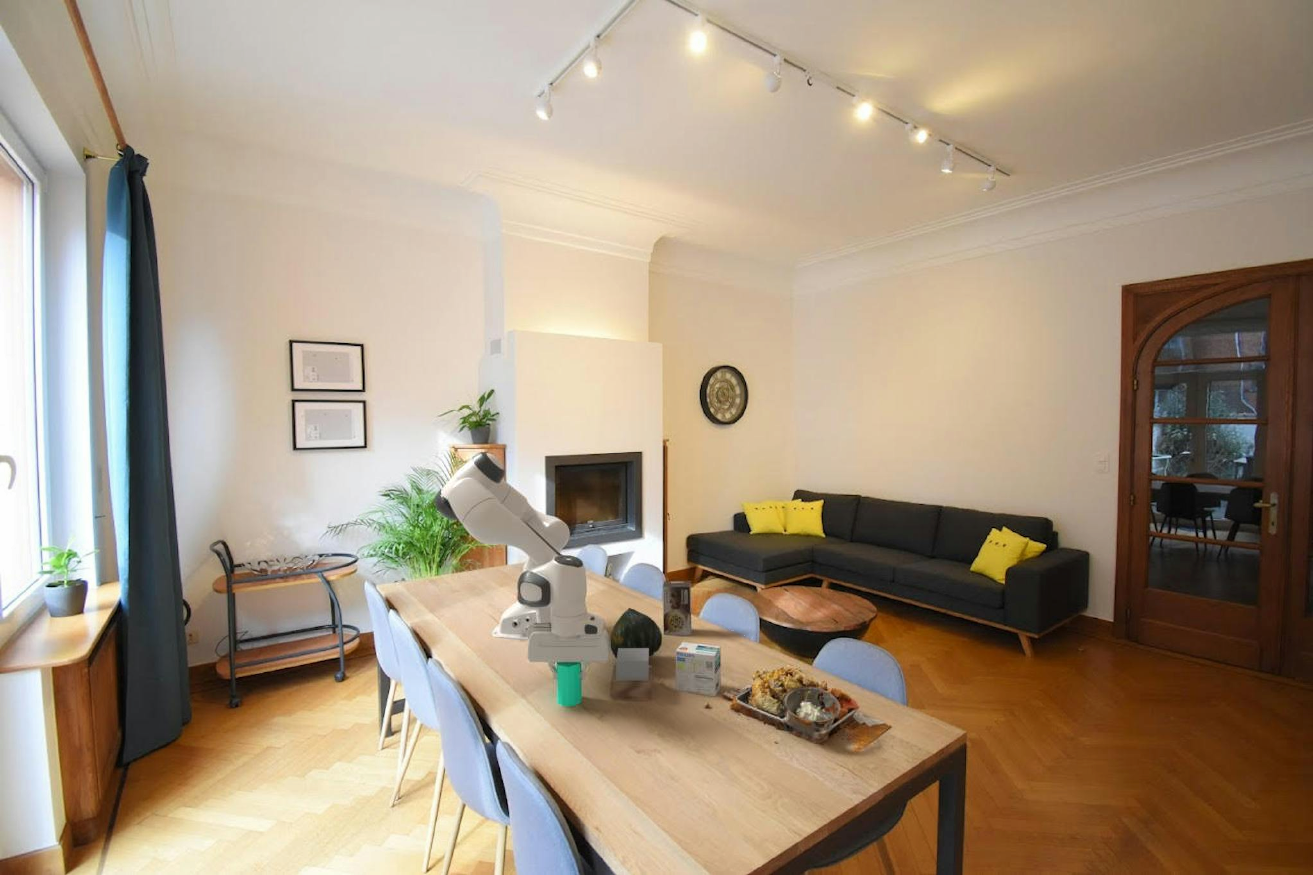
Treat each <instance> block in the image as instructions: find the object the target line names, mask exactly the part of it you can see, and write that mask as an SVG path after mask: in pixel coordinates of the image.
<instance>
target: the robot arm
mask: <svg viewBox="0 0 1313 875" xmlns="http://www.w3.org/2000/svg"><path fill="white" fill-rule="evenodd" d="M505 470H506V469H505V467H504V466H503V463H502V462H501V460H500V459H499V458H498V457H496V456H495V454H491V453H489V452H488V451H480V452H478V453H476V454H475V455H473V456H472V457H471V459H470V460H468V461H467V462H466V463H465V464H464V465H462V466H461V467H460V468H459V469H458V470H456V471H455V473H454V475H453V476H451V478H450V479H449V480H448V481H447V482H446V484H444V486H443V487H442V488H440V489H439V490H438V491H437V493H436V495H435V497H434V506H435V509H436V510H437V511H438V513H439V514H441V515H442V516H443V517H444V518H445V519H448V520H449V521H453V522H454V521H455V522H456V521H457V522H458V521H459V522H460V523H461V524H462V526H463V528H464V529H465V530H466V532H468V534H469V535H470V536H471V537H472V538H473V539H475V540H476V541H477V542H479V543H482V544H485V545H498V546H499V545H501V546H510V547H513V548H517V549H519V550H521V551H522V552H523V553H524V554H526V556H528V558H527V561H526V562H525V563H524V564H523V567H522V573H521V574H520V575H519V577H518V580H517V585H516V586H517V594H516V601H515V602H514V603H513V604H511V605H510V606H509V607H508V608H507V609H506V610H505V611H504V612H503V613H502V614H501V617H500V619H499V620H500V621H499V624H498V625H496V627H495V628H493V630H492V632H491V633H492V637H493V638H495V639H497V638H498V639H508V640H517V641H518V640H520V641H527V642H528V644H527V651H526V655H527V659H528V661H529V662H530V663H547V664H548V668H549V669H550V672H552V679H553V680H557V666H556V663H557V662H581V663H582V666H583V669H581V672H580V680H585V679H586V672H587V670H588V668H589V667H590V663H602V664H603V663H604V664H605V663H607V662H608V661H609V660H610V658H611V646H610V636H609V633H608V630H607V629H606V619H605V617H602V616H599V615H595V614H593V613H589V612H588V608H587V605H586V598H587V592H588V585H587V584H588V583H587V581H588V580H587V572H586V567H585V564H584V562H583V560H581V558H579V557H577V556H575V555H568V554H567V555H566V554H563V553H562V549H563V548H565V546H566V545H567V544H568V542H569V540H570V536H571V535H570V534H571V532H570V529H569V526H568V524H567V523H566V522H564V521H563V520H562V519H560V518H559V517H557V516H553V515H549V514H544V513H542V512H539V511H537V510H536V509H535V508H534V507H532V506H531V504H530V503H529V502H528V499H527V497H526V496H524V495H523V494H522V493H520V491H518V490H517V489H515V488H514V487H513V486H512V485H511V484H509V483H508V482H507V481H505V480H504V476H505V473H506V471H505Z"/></svg>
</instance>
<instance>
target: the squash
mask: <svg viewBox="0 0 1313 875" xmlns="http://www.w3.org/2000/svg"><path fill="white" fill-rule="evenodd" d="M609 640H610V651H611V652H612V654H613V656H614V658H615V659H616V660H617V653H618V648H649V658H651V657H652V656H653V655H654V654H655V653H657V652H658V651H659V650H660V648H661V646H662V644H663V643H662V642H663V634H662V631H661V629H660V626H658V624H657V623H656V621H655V620H653V618H651V617H650V616H648V615H646V614H645V613H643V612H640V611H638V610H637V609H635V608H631V607H628V609H627V610H625V611H624V612H623V613H622V614H621V615H620V617H619V619H618V620H617V622H615V624H614V626H613V628H612V630H611V633H610V636H609Z"/></svg>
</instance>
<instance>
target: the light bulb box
mask: <svg viewBox="0 0 1313 875" xmlns="http://www.w3.org/2000/svg"><path fill="white" fill-rule="evenodd" d="M721 651H722V650H721V645H712V644H711V645H710V644H702V643H692V642H686V641H682V642H681V644H680V645H679V646H678V647H677V649H676V650H675V690H676V691H681V692H686V693H692V694H699V695H704V696H712V697H716V696H717V694H718V692H719V691H720V688H721V687H722V655H721V654H722V653H721Z"/></svg>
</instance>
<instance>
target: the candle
mask: <svg viewBox="0 0 1313 875" xmlns="http://www.w3.org/2000/svg"><path fill="white" fill-rule="evenodd" d="M556 669H557V679H556V701H557V703H558V705H560V706H562V707H569V708H570V707H575V706H577V705H579V704H581V703H582V700H583V699H582V698H583V697H582V694H583V693H582V691H583V690H582V688H583V686H582V680H580V672H581V670H582V662H556Z"/></svg>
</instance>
